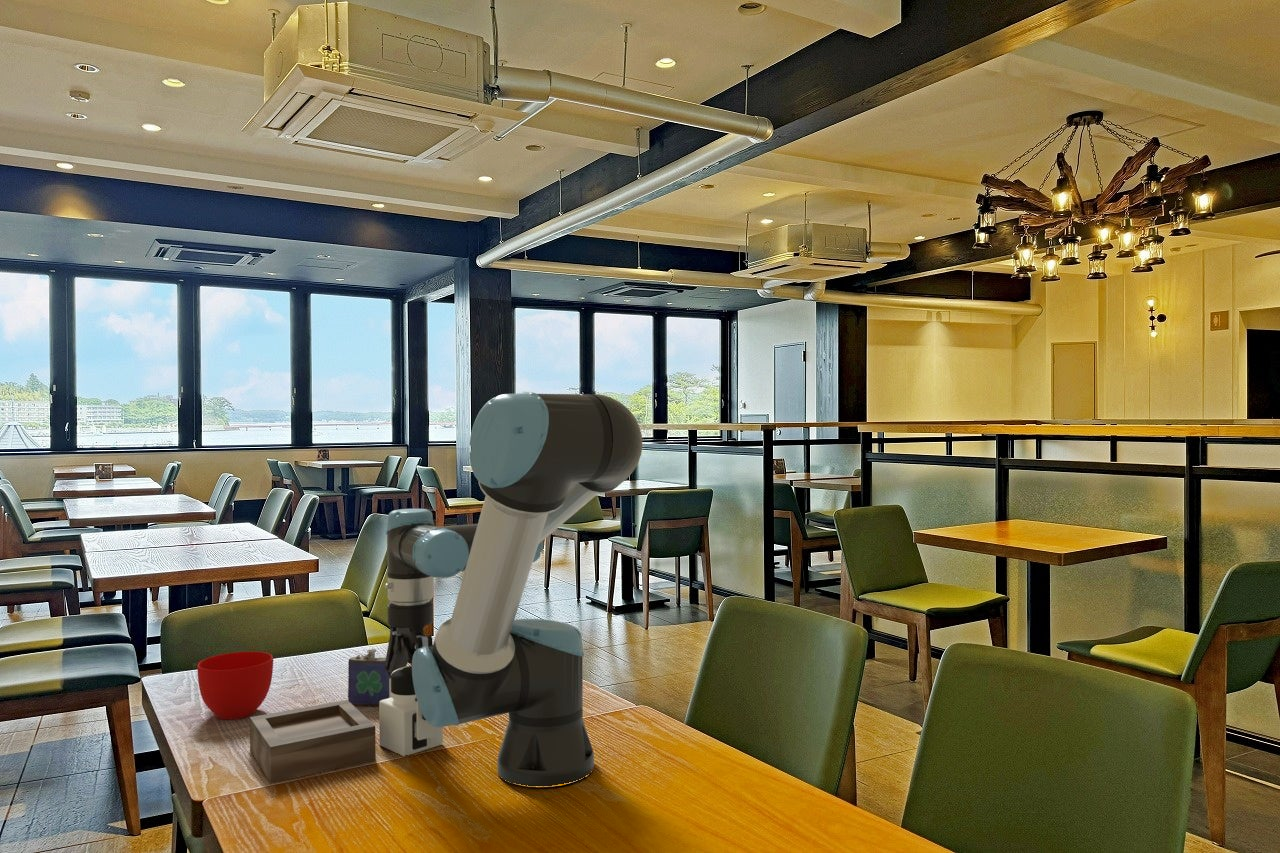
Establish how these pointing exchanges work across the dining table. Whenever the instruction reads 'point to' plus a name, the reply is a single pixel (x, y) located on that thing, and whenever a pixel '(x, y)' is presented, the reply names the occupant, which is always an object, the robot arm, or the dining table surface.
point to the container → (403, 717)
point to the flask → (367, 680)
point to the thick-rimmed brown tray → (311, 740)
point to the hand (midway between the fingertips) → (411, 726)
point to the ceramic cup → (235, 682)
